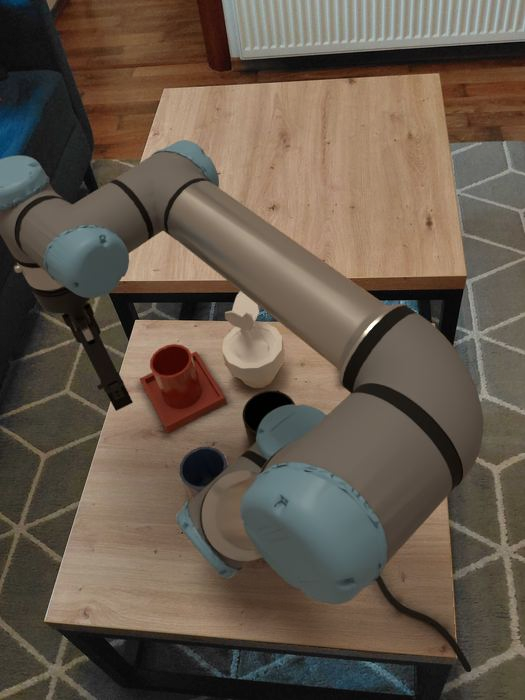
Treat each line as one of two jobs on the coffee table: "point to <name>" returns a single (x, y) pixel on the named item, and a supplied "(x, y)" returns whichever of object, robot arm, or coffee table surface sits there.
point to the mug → (261, 410)
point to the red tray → (181, 416)
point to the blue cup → (201, 468)
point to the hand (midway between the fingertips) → (108, 374)
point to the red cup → (176, 375)
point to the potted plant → (251, 345)
